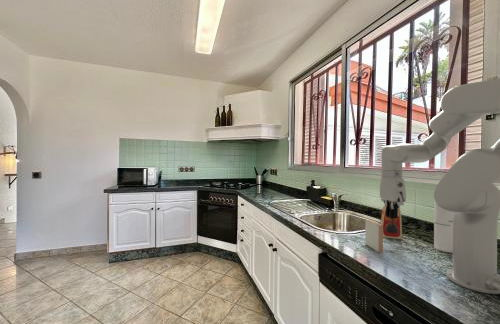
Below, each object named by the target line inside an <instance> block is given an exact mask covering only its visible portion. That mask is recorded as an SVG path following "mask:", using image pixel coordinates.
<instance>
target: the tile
mask: <svg viewBox="0 0 500 324" xmlns="http://www.w3.org/2000/svg"><path fill="white" fill-rule="evenodd" d="M364 229H365V233H364V234H365V235H364V236H365V238H364V240H365V245H366V246H368V247H369V248H371V249H373V250H374V251H376V252H377V253H384V237H383V225H381V223H378V222H376V221H374V220H371V219H369V218H368V219H365V228H364Z"/></svg>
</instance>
